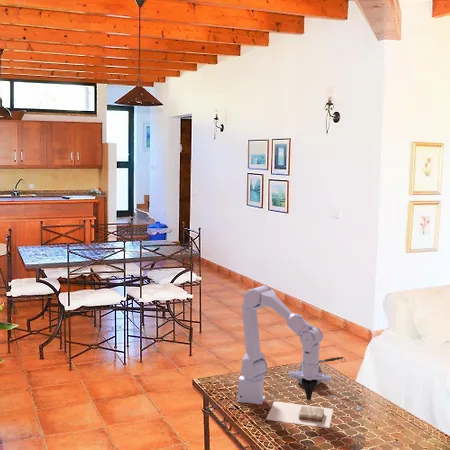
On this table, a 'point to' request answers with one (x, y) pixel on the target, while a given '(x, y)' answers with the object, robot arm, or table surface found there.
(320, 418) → the tile
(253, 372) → the robot arm
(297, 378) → the coffee pot
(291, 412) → the mat
